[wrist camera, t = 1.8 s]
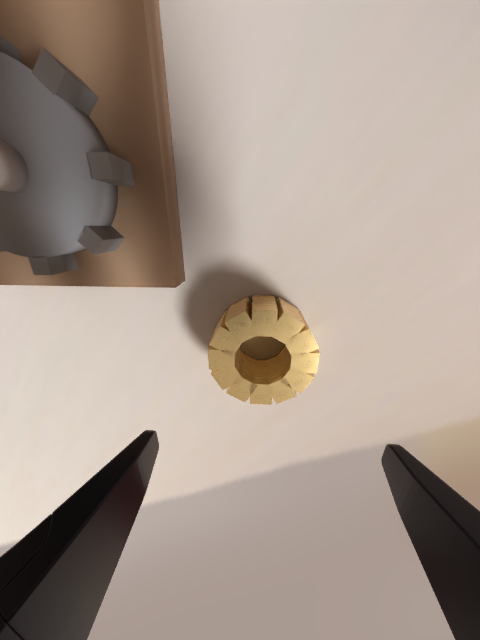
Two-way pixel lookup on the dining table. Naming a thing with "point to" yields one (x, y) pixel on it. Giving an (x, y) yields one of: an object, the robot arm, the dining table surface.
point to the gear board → (125, 123)
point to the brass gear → (263, 375)
